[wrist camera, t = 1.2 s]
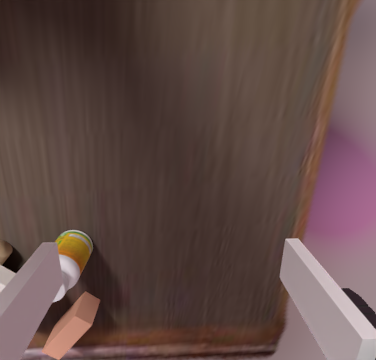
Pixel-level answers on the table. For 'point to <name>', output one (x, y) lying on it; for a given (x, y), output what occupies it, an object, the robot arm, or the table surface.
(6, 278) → the slab
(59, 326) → the block
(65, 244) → the supplement bottle
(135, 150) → the table surface
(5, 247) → the roller bed
